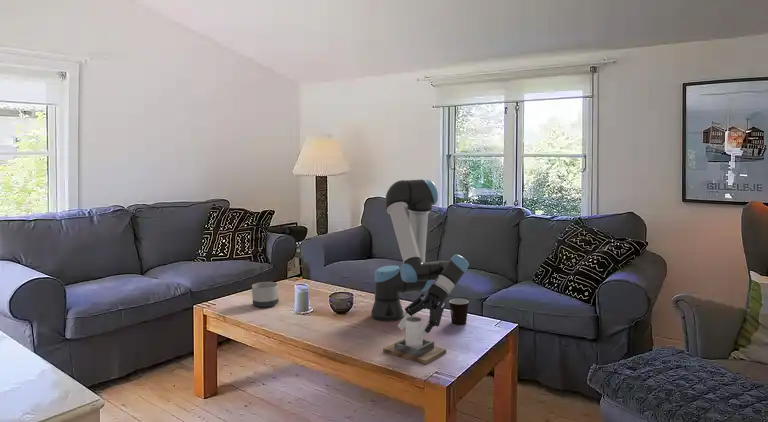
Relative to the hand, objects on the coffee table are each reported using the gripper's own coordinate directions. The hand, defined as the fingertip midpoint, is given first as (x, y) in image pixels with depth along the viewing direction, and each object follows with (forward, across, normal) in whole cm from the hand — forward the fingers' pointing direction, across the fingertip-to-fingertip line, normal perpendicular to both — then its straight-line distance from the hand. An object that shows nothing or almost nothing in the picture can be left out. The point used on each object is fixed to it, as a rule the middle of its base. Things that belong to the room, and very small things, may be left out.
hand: (409, 333), depth 211 cm
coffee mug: (-22, +19, -34) cm, 45 cm away
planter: (+23, +94, +11) cm, 97 cm away
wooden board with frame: (+4, 0, -7) cm, 8 cm away
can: (+4, 0, -6) cm, 7 cm away
